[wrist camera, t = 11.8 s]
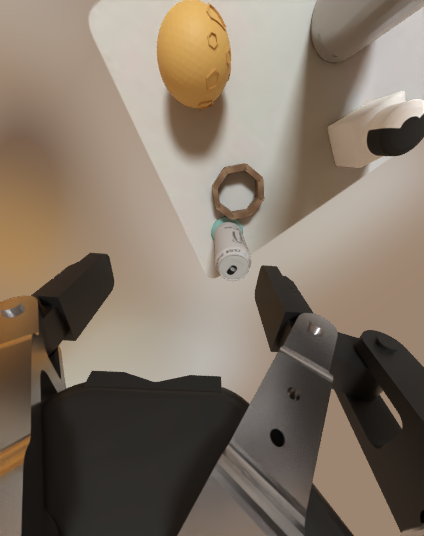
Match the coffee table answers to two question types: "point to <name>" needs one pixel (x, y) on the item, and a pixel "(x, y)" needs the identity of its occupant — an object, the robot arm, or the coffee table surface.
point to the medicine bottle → (377, 130)
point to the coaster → (223, 220)
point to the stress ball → (194, 53)
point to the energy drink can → (231, 252)
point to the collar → (254, 203)
